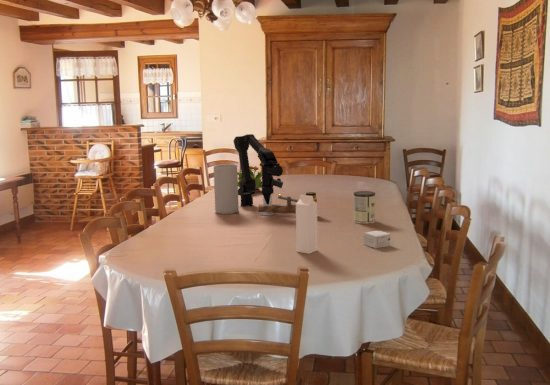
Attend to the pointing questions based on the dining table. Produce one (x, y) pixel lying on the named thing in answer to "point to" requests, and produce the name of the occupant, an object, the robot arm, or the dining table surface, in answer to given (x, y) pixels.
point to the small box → (376, 239)
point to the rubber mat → (266, 213)
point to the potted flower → (257, 178)
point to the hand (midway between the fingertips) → (267, 203)
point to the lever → (286, 198)
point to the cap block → (269, 201)
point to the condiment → (313, 196)
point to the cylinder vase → (226, 189)
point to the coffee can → (364, 207)
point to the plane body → (278, 207)
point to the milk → (306, 224)
